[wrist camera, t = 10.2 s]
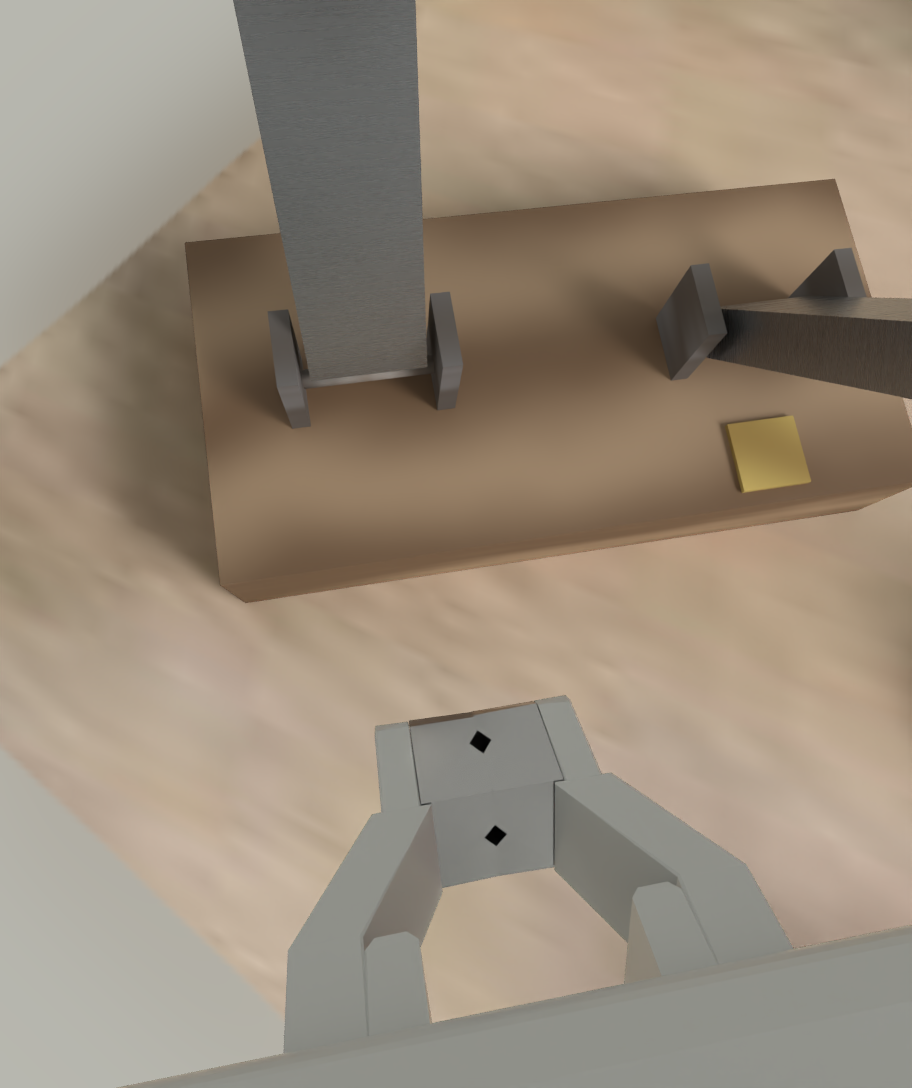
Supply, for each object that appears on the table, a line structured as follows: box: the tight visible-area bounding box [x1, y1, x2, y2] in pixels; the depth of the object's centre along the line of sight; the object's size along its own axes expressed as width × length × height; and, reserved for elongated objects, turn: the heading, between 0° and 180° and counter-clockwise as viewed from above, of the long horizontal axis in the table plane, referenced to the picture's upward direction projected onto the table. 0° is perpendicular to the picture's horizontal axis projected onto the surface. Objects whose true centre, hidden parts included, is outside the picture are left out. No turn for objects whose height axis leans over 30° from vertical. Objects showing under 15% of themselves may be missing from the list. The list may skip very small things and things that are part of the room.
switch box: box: [185, 179, 912, 603], centre depth 26 cm, size 12×24×7 cm, turn 99°
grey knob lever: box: [707, 296, 912, 399], centre depth 19 cm, size 2×4×12 cm
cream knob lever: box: [233, 0, 427, 381], centre depth 18 cm, size 2×4×12 cm, turn 98°
